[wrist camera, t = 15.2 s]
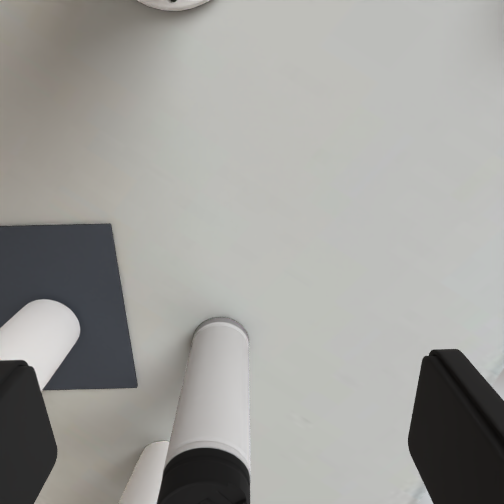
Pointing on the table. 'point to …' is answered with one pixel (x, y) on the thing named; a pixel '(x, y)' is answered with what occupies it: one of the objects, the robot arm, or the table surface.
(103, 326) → the mat
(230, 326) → the travel mug
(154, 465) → the foam cup
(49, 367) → the can
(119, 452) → the table surface
